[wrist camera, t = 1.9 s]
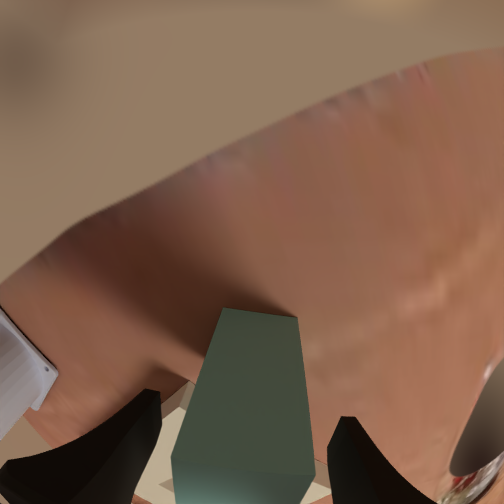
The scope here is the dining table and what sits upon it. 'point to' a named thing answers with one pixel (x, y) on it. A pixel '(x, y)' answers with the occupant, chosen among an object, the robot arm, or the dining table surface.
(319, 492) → the keyed socket plate
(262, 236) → the dining table surface
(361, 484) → the robot arm
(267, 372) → the teal square peg
